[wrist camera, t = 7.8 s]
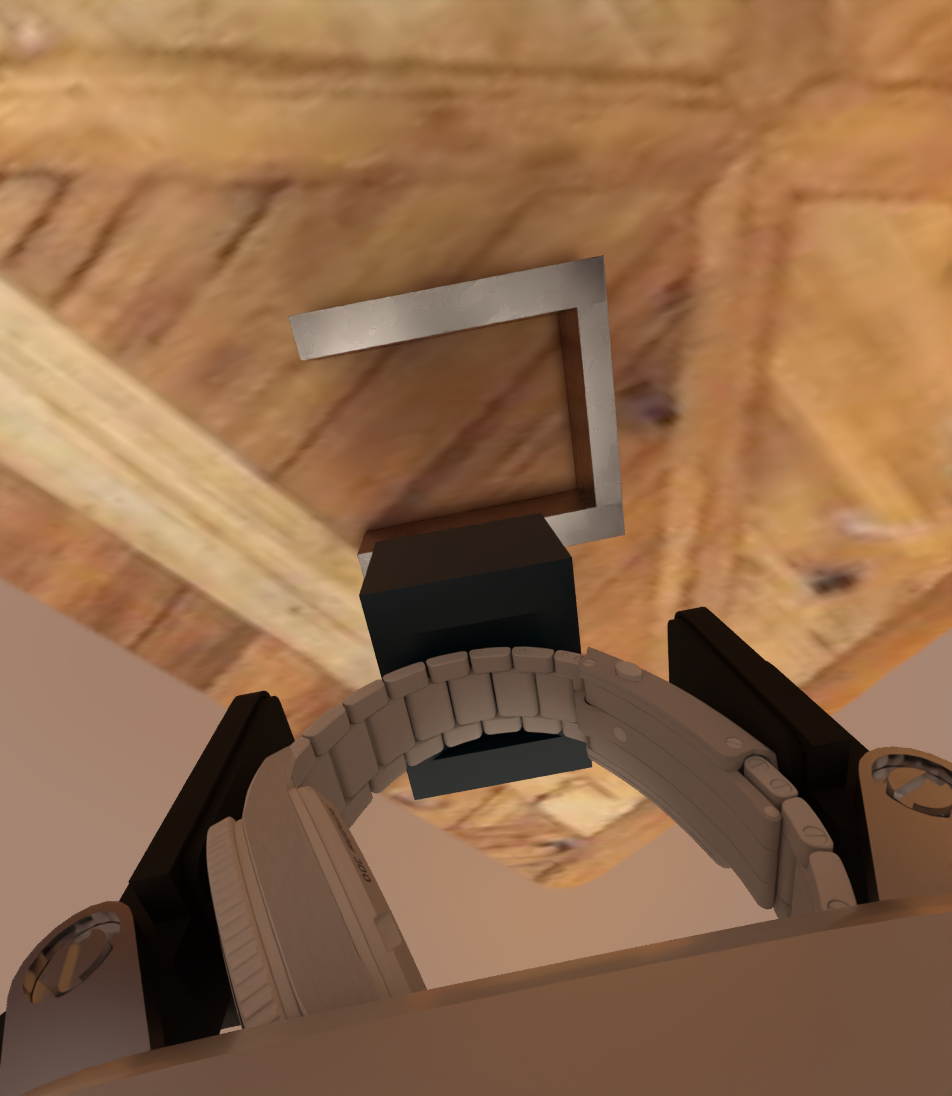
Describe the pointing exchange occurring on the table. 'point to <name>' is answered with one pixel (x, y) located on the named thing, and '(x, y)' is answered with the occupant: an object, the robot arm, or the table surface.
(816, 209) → the table surface
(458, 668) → the watch
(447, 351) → the table surface
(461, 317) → the u-shaped metal bracket
